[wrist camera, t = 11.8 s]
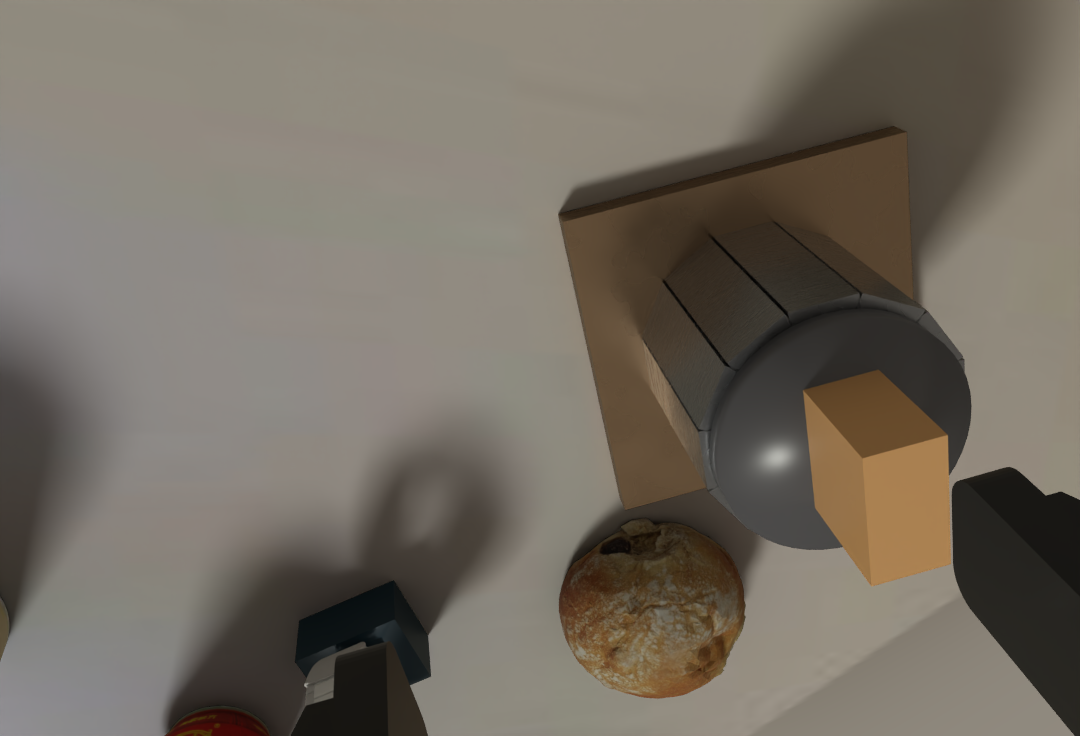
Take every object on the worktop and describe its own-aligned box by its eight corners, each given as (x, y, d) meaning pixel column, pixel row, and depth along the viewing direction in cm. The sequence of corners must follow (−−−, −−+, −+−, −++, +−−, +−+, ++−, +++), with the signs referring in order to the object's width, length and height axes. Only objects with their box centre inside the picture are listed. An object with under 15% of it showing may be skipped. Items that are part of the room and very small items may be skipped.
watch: (353, 697, 54) (348, 873, 45) (283, 597, 51) (261, 765, 41) (444, 659, 54) (459, 827, 44) (380, 555, 51) (381, 714, 41)
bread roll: (686, 473, 56) (701, 502, 48) (769, 629, 56) (799, 682, 48) (535, 552, 57) (525, 593, 49) (618, 705, 57) (622, 770, 49)
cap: (681, 332, 38) (747, 427, 31) (935, 264, 38) (1054, 343, 31) (715, 541, 42) (779, 662, 36) (941, 479, 43) (1045, 587, 36)
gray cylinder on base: (558, 214, 44) (606, 297, 35) (893, 126, 44) (1026, 185, 35) (619, 497, 51) (672, 627, 42) (907, 418, 52) (1020, 529, 43)
